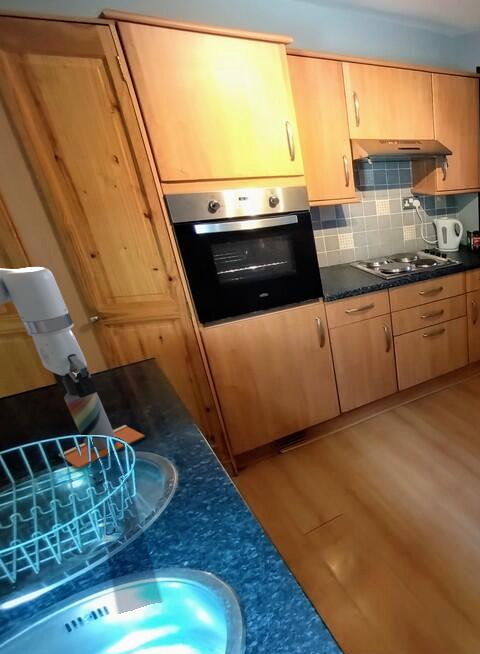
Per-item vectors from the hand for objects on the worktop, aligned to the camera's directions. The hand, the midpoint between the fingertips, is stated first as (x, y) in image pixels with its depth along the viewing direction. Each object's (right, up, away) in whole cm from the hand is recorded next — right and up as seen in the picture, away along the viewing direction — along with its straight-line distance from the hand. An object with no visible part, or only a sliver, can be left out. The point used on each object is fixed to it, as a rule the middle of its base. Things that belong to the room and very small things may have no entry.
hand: (78, 390), depth 107 cm
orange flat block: (0, -15, +7) cm, 16 cm away
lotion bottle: (0, -15, +7) cm, 16 cm away
